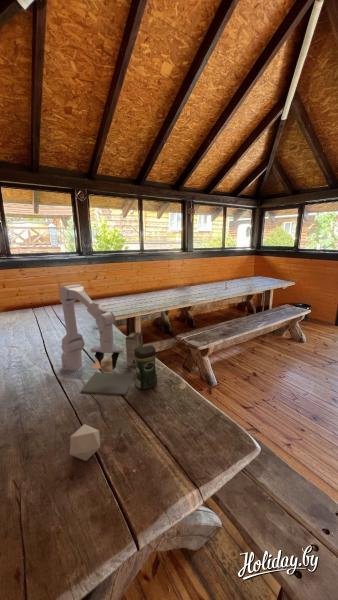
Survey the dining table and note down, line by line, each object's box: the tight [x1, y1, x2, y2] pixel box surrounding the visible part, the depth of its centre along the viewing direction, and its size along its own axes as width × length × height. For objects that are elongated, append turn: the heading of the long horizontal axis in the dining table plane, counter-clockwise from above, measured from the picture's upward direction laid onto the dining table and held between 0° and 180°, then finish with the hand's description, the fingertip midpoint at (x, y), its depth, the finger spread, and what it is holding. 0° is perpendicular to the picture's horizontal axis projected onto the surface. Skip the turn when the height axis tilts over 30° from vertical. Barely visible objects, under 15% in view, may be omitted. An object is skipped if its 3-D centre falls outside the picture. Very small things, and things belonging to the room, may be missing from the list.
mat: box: [80, 371, 136, 396], centre depth 113 cm, size 20×16×1 cm
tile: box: [91, 360, 101, 370], centre depth 131 cm, size 10×10×1 cm
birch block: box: [100, 355, 115, 373], centre depth 111 cm, size 5×5×5 cm
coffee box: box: [125, 331, 144, 367], centre depth 131 cm, size 9×6×16 cm
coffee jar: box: [134, 344, 158, 390], centre depth 110 cm, size 10×8×19 cm
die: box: [69, 423, 101, 461], centre depth 75 cm, size 8×9×10 cm
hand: (108, 367), depth 111 cm, fingers closed on birch block, 5 cm apart
